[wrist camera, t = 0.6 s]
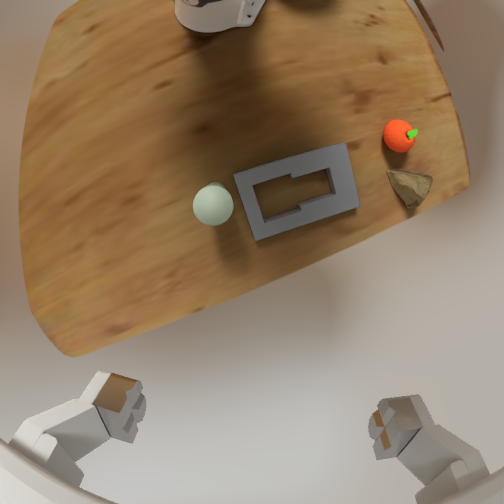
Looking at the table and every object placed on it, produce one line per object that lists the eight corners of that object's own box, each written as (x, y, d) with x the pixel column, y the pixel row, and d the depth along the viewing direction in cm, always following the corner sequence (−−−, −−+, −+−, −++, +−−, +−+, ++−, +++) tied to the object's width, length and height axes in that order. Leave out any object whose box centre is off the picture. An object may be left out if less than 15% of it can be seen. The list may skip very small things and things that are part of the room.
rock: (427, 209, 54) (430, 169, 50) (428, 222, 48) (433, 178, 44) (385, 203, 59) (387, 163, 55) (382, 215, 53) (384, 171, 49)
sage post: (209, 172, 50) (205, 178, 38) (236, 188, 51) (240, 199, 39) (194, 199, 51) (185, 213, 39) (220, 214, 53) (220, 232, 41)
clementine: (397, 114, 48) (417, 112, 42) (409, 142, 51) (429, 143, 44) (371, 127, 49) (390, 126, 42) (385, 156, 52) (404, 159, 45)
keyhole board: (254, 237, 55) (255, 241, 53) (232, 174, 50) (233, 175, 48) (354, 204, 54) (360, 206, 52) (340, 142, 50) (345, 142, 48)
